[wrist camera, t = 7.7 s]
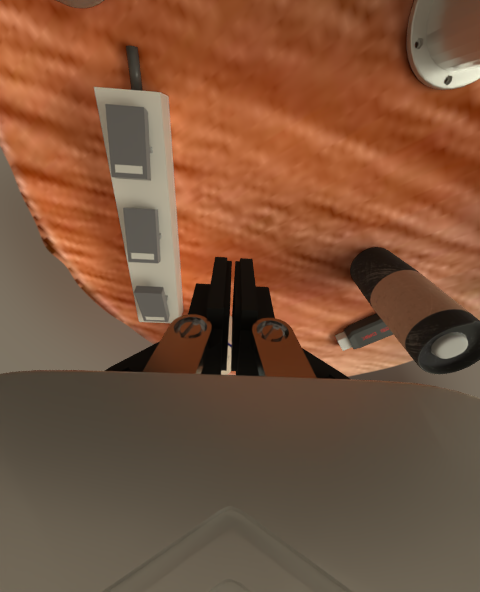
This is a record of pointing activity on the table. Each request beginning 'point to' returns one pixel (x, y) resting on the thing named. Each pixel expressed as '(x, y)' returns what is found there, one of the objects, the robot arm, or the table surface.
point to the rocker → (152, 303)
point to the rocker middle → (142, 235)
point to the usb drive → (363, 333)
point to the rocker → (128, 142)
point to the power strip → (149, 187)
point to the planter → (81, 3)
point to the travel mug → (418, 312)
